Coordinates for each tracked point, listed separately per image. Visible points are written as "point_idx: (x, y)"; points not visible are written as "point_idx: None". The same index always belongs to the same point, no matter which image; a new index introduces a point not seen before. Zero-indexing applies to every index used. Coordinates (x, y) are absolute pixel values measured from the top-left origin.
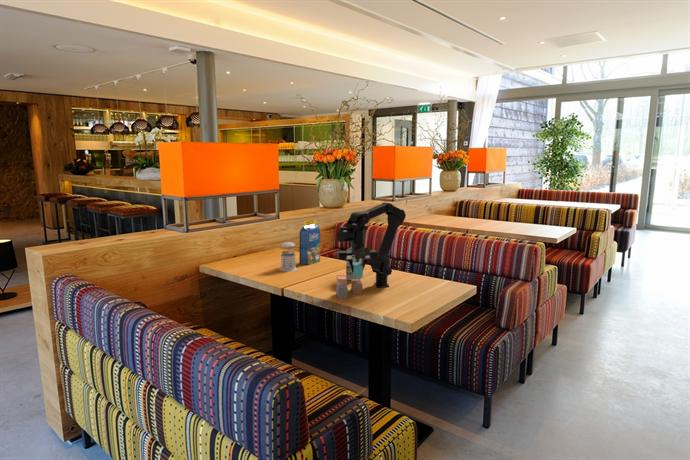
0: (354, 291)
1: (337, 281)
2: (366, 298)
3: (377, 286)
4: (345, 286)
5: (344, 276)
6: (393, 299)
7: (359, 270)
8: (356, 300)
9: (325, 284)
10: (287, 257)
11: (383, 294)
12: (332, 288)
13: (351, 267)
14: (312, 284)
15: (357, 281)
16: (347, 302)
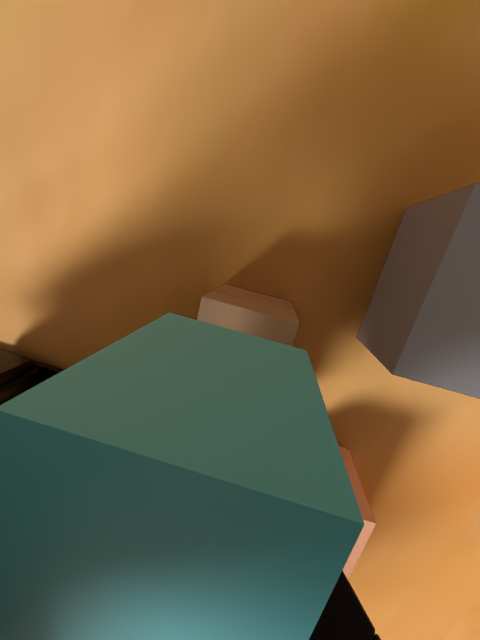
0: (287, 304)
1: None
2: (247, 143)
3: (58, 371)
4: (464, 254)
5: None
6: (36, 30)
7: (193, 372)
8: (360, 116)
9: (382, 567)
10: None
11: (74, 198)
12: (383, 478)
13: (344, 588)
14: (470, 604)
15: None
16: (476, 82)
